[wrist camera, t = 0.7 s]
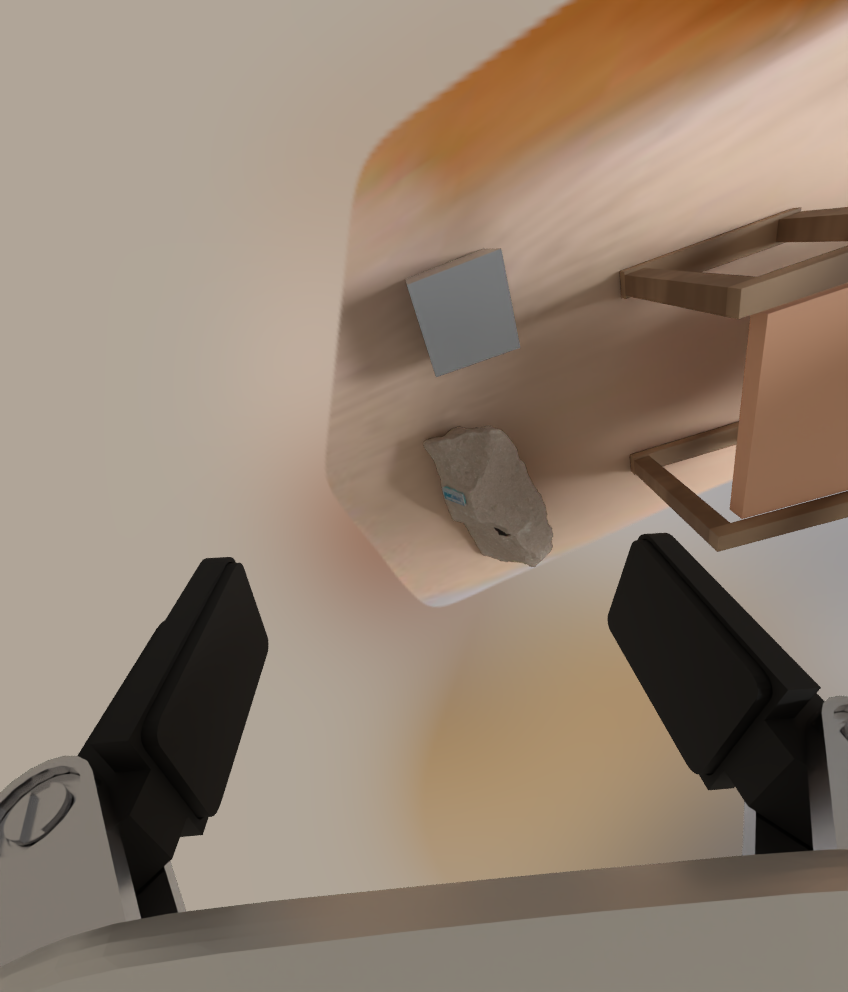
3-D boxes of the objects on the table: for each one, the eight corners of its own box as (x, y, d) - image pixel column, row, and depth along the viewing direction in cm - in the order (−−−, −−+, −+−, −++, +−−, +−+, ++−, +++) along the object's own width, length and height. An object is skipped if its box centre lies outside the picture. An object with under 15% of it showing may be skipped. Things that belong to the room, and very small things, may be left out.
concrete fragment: (474, 559, 37) (486, 609, 32) (412, 434, 30) (414, 472, 25) (547, 533, 36) (571, 580, 31) (499, 396, 29) (521, 428, 24)
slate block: (483, 248, 24) (501, 248, 20) (501, 332, 27) (520, 347, 22) (405, 278, 25) (406, 284, 20) (430, 357, 27) (436, 377, 23)
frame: (792, 208, 24) (1029, 184, 15) (760, 432, 31) (903, 504, 23) (619, 271, 25) (742, 283, 16) (630, 471, 33) (717, 554, 24)
